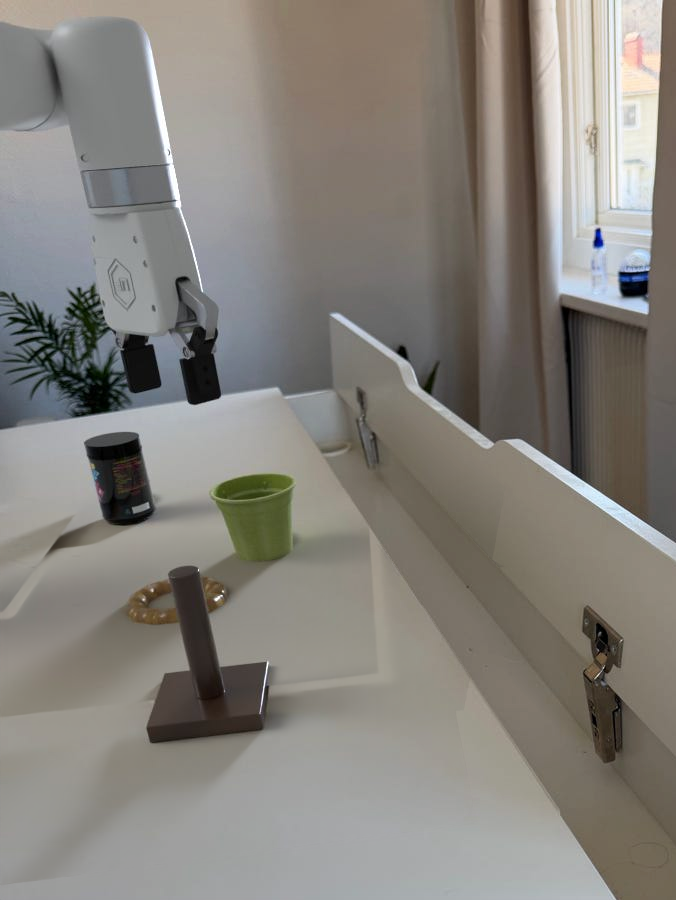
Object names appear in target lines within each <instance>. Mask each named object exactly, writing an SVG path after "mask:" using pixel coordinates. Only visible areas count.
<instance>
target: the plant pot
mask: <svg viewBox="0 0 676 900" xmlns="http://www.w3.org/2000/svg"><path fill="white" fill-rule="evenodd" d="M296 484H297V482H296V479H295V477H293V476H291V475H289V474H286V473H279V472H278V473H277V472H263V473H251V474H245V475H240V476H236V477H232V478H230V479H226V480H224V481H221V482H220V483H217V484H215V485H214V486H213V487H211V489H210V490H209V497H210V498H211V500H213V501H214V502H215V504H216V506H217V508H218V510H219V511H220V512H221V514H222V517H223V520H224V522H225V525H226V528H227V531H228V534H229V536H230V539H231V542H232V545H233V548H234V551H235V554H236V557H237V558H238V559H240V560H241V561H244V562H252V563H254V562H255V563H256V562H257V563H258V562H259V563H260V562H268V561H273V560H276V559H280V558H282V557H285V556H286V555H288V554H290V553H291V552H292V551H293V549H294V548H293V519H292V517H293V513H292V500H293V498H294V488H296Z"/></svg>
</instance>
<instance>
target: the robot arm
mask: <svg viewBox="0 0 676 900" xmlns="http://www.w3.org/2000/svg"><path fill="white" fill-rule="evenodd" d="M148 35H149V34H148V33H147V31H146V30H145V28H144V27H143V26H142V25H141V24H140V23H139V22H138V21H136V20H134V19H130V18H128V17H120V16H119V17H118V16H86V17H78V18H77V17H76V18H71V19H66V20H63V21H61V22H59V23H57V24H56V25H55V26H54V27H53V29H38V28H30V27H24V26H20V25H16V24H13V23H9V22H5V21H2V20H0V131H14V132H28V133H29V132H30V133H32V132H33V133H34V132H35V133H36V132H43V131H48V130H53V129H58V128H62V127H65V126H69V130H70V134H71V139H72V143H73V148H74V152H75V157H76V159H77V166H78V170H79V171H80V172H79V173H80V174H79V175H80V179H81V183H82V187H83V190H84V195H85V200H86V204H87V207H88V208H87V209H88V213H89V232H90V243H91V252H92V259H93V265H94V270H95V276H96V283H97V288H98V293H99V303H100V305H101V307H102V308H101V309H102V312H103V317H104V320H105V323H106V325H107V326H108V327H109V329H110V330H111V331H112V333H113V334H114V336H115V337H114V343H115V346H116V348H117V349H118V350H119V353H120V356H121V361H122V365H123V371H124V374H125V378H126V382H127V388H128V390H129V392H130V393H131V394H140V393H143V392H144V393H145V392H147V391H152V390H155V389H156V390H157V389H160V388H161V387H162V378H161V374H160V368H159V364H158V360H157V356H156V350H155V346H154V344H153V343H149V339H150V337H152V338H153V337H155V338H157V337H158V338H160V337H164V336H166V335H167V334H169V335H170V336H171V339H172V340H173V342H174V343H175V345H176V346H177V348H178V350H179V351H180V354H182V356H183V358H179V359H178V361H179V362H178V363H179V366H180V372H181V376H182V380H183V386H184V391H185V395H186V401H187V403H188V404H189V405H191V406H198V405H201V404H205V403H209V402H211V401H216V400H219V399H220V398H221V397H222V390H221V384H220V379H219V375H218V370H217V364H216V359H215V354H216V353H217V350H218V349H217V345H216V341H217V339H218V337H219V331H218V322H219V313H220V312H219V310H220V309H219V306H218V304H217V303H216V302H215V301H213V300H212V299H211V298H210V297H209V296H208V295H207V294H205V293H204V291H203V286H202V281H201V276H200V272H199V268H198V264H197V260H196V255H195V251H194V248H193V247H194V246H193V245H192V240H191V237H190V234H189V231H188V227H187V223H186V221H185V219H184V215H183V212H182V209H181V207H182V203H181V198H180V192H179V188H178V181H177V177H176V171H175V168H174V167H175V166H174V162H173V161H174V160H173V156H172V150H171V146H170V138H169V133H168V129H167V124H166V118H165V113H164V109H163V102H162V96H161V91H160V87H159V81H158V75H157V70H156V65H155V61H154V55H153V49H152V46H151V41H150V37H149V36H148ZM188 334H191V335H190V338H188V336H187V335H188Z"/></svg>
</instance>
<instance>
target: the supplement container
mask: <svg viewBox="0 0 676 900" xmlns="http://www.w3.org/2000/svg"><path fill="white" fill-rule="evenodd" d="M140 437H141V436H140V434H139V433H138V432H134V431H117V432H116V431H115V432H108V433H103V434H99V435H96V436H92V437H90V438H87V439H86V440H84V442H83V446H84V449H85V453H86V454H85V455H86V457H87V460H88V464H89V468H90V472H91V476H92V480H93V485H94V487H95V492H96V495H97V496H96V497H97V499H98V503H99V507H100V512H101V515H102V518H103V520H104V521H105V522H106V523H108V524H110V523H111V525H116V524H125V525H130V524H129V523H132V524H136V523H135V522H137V523H139V522H138V521H141V522H143V521H145V520H144V519H146V520H148V519H149V518H148V517H150V516H151V517H153V516H154V515H155V512H156V504H155V499H154V495H153V491H152V486H151V482H150V478H149V473H148V469H147V466H146V460H145V456H144V451H143V445H142V442H141V438H140ZM151 517H150V518H151ZM147 518H148V519H147ZM142 520H143V521H142Z"/></svg>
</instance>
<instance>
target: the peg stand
mask: <svg viewBox="0 0 676 900" xmlns="http://www.w3.org/2000/svg"><path fill="white" fill-rule="evenodd" d="M167 577H168V578H167V579H169V582H170V586H171V591H172V592H171V594H172V599H173V602H174V606H175V607H174V608H176V612H177V617H178V621H179V622H178V625H179V629H180V633H181V638H182V639H181V640H182V642H183V647H184V652H185V655H186V660H187V664H188V668H189V670H180V671H174V672H173V671H172V672H164V674H163V677H162V680H161V682H160V685H159V688H158V692H157V695H156V697H155V700H154V703H153V706H152V709H151V712H150V715H149V718H148V720H147V724H146V726H145V729H146V732H147V736H148V741H149V742H150V743H157V742H166V741H167V742H168V741H175V740H184V739H192V738H199V737H200V738H201V737H209V736H217V735H218V736H219V735H224V734H225V735H226V734H234V733H241V732H242V733H243V732H250V731H259V730H264V729H265V728H264V726H265V720H266V712H267V705H268V698H269V691H270V685H267V684H268V678H269V672H270V663H269V661H259V662H251V663H250V662H249V663H244V664H235V665H225V666H220V660H219V656H218V652H217V651H218V650H217V646H216V642H215V637H214V632H213V627H212V621H211V619H210V613H208V608H207V604H206V599H205V596H206V594H205V593H204V590H203V585H202V580H201V577H202V575H201V571H200V568H199V567H198V566H196V565H183V566H178V567H174V568H172V569H171V570H170V571H168V573H167Z"/></svg>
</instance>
